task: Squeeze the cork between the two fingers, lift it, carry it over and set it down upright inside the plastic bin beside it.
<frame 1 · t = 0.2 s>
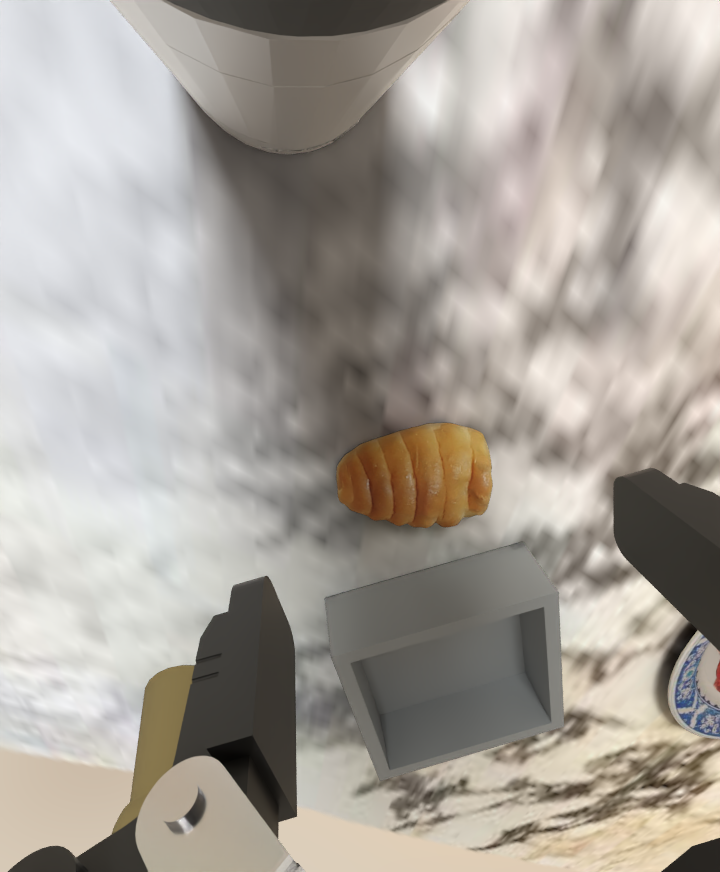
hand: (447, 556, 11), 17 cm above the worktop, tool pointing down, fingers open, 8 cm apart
bin: (439, 637, 38), on the worktop
pastry: (416, 467, 31), on the worktop
cork: (187, 689, 36), on the worktop
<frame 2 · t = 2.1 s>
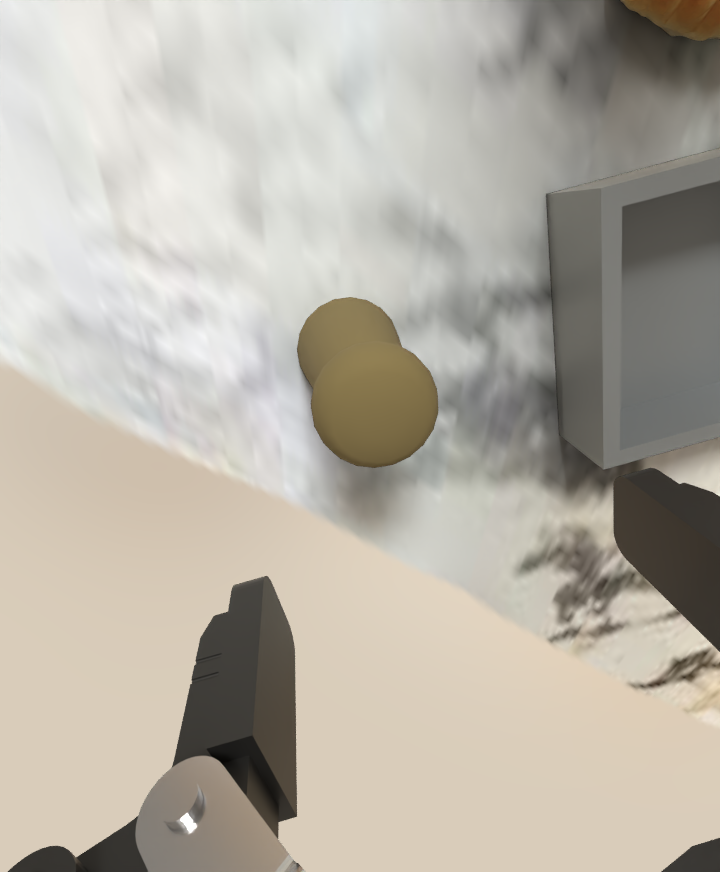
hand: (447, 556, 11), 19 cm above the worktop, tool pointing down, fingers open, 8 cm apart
bin: (669, 296, 29), on the worktop
cork: (348, 349, 28), on the worktop
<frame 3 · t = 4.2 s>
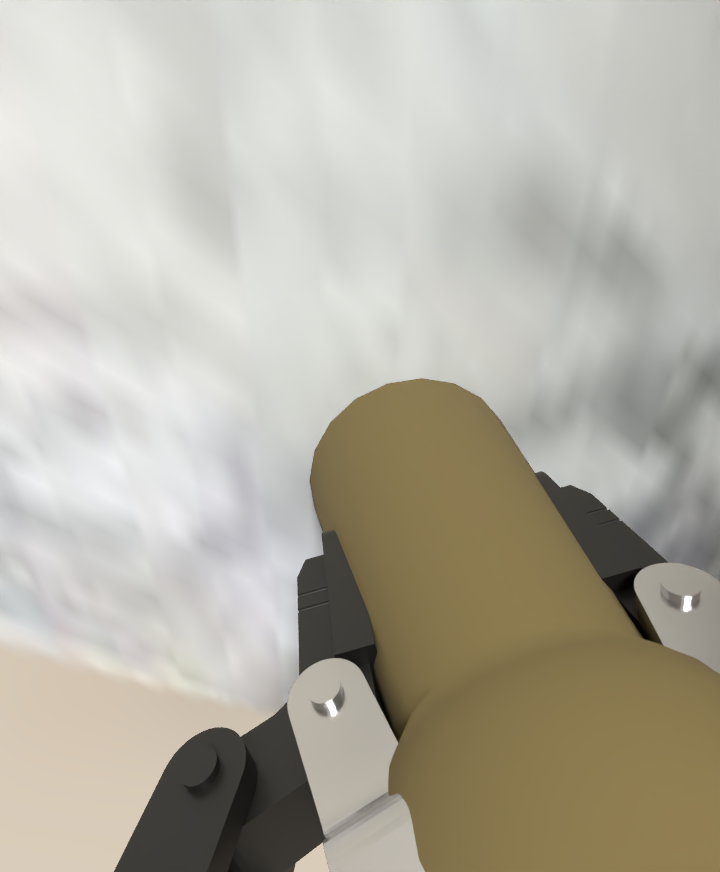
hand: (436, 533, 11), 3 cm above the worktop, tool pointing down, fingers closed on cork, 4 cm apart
cork: (410, 473, 14), on the worktop, touching gripper
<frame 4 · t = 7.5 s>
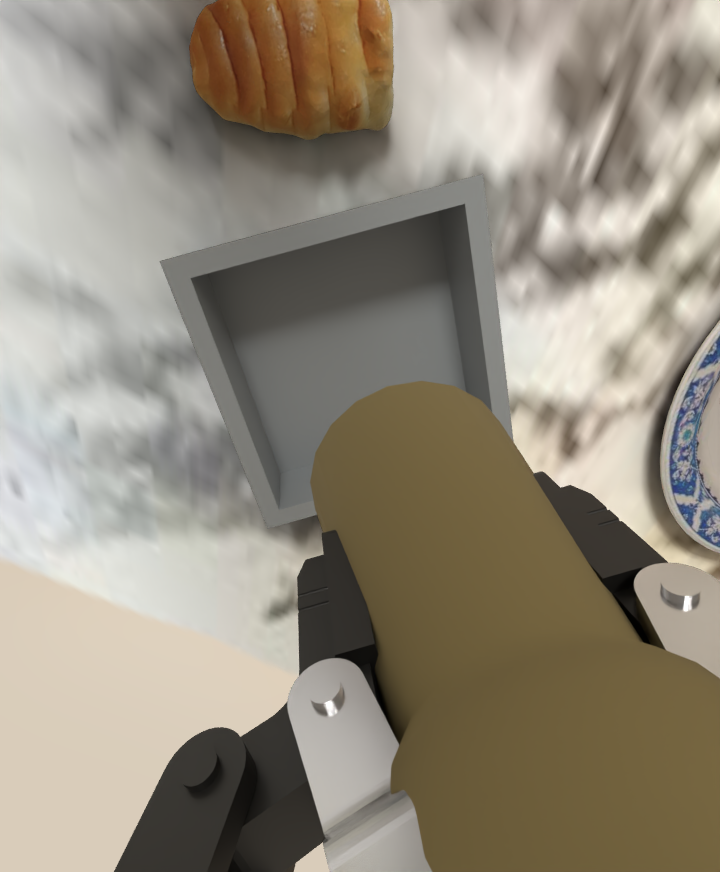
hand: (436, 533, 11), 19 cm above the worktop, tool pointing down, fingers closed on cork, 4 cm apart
bin: (350, 350, 29), on the worktop
pastry: (307, 69, 23), on the worktop
cork: (410, 475, 14), point 16 cm above the worktop, touching gripper
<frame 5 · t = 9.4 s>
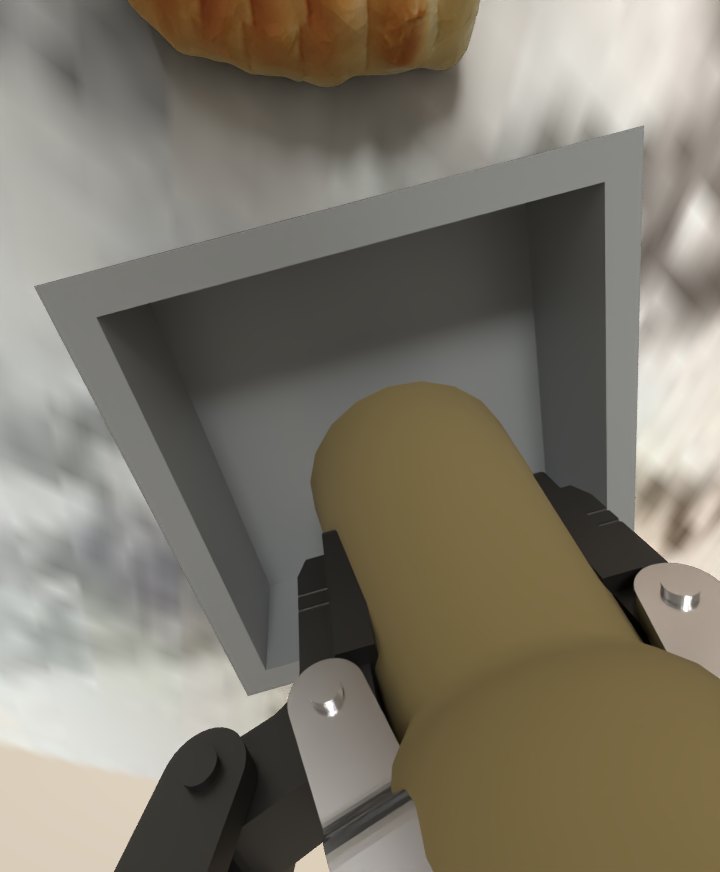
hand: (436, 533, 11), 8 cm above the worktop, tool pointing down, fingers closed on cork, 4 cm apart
bin: (376, 411, 19), on the worktop
cork: (410, 475, 14), point 5 cm above the worktop, touching gripper
when the fingers open (5 cm above the worktop, at t = 11.0 s): cork stays where it is, resting on bin.
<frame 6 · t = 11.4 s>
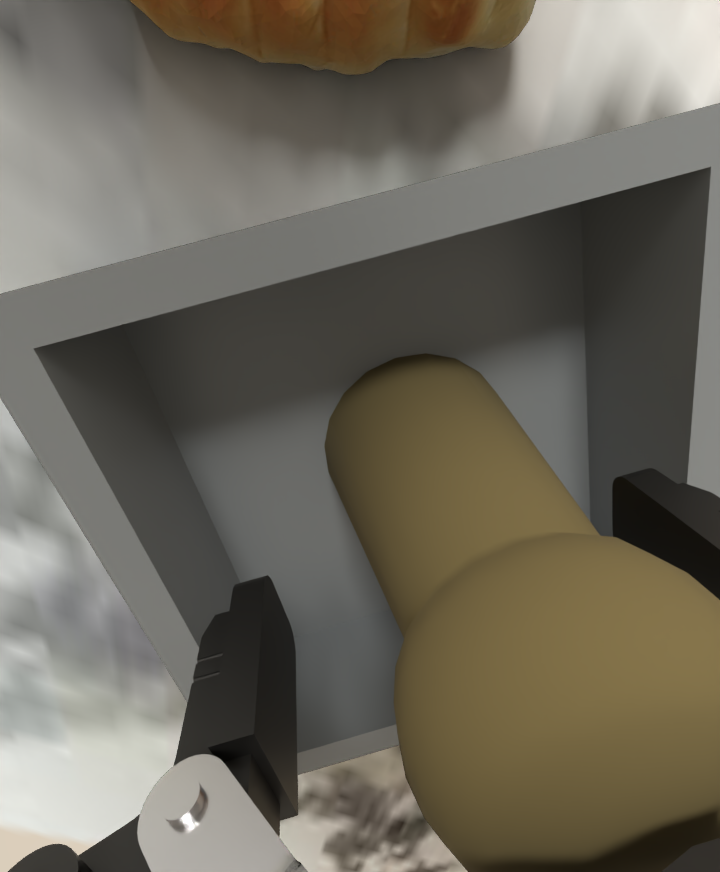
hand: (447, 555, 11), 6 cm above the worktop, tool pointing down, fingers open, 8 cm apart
bin: (394, 445, 16), on the worktop
cork: (415, 441, 16), resting on bin
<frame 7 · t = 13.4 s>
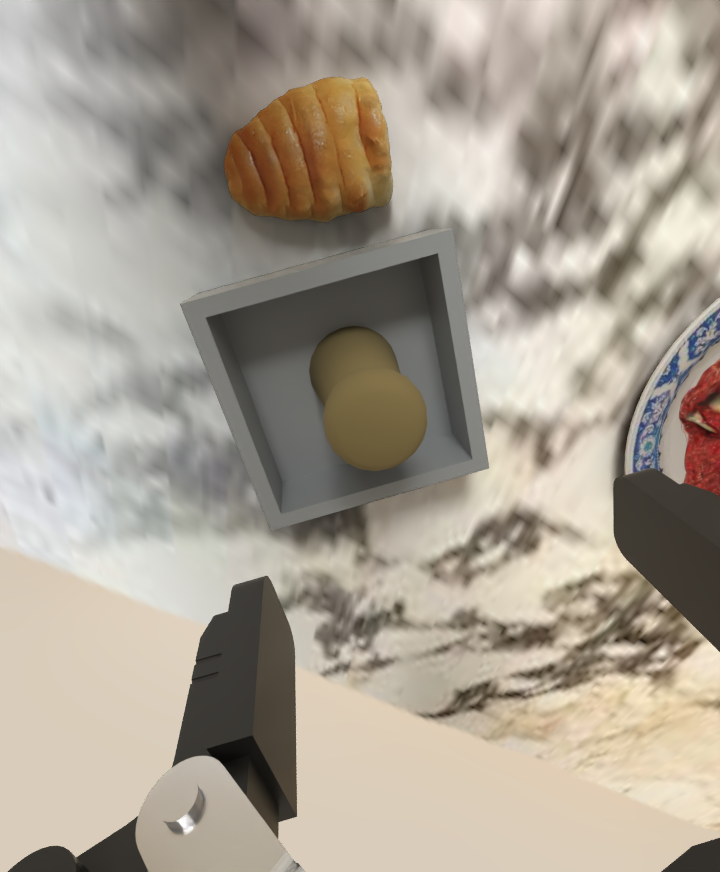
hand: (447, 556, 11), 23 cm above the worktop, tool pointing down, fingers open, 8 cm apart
bin: (344, 373, 33), on the worktop
pastry: (319, 164, 28), on the worktop
cork: (353, 370, 32), resting on bin
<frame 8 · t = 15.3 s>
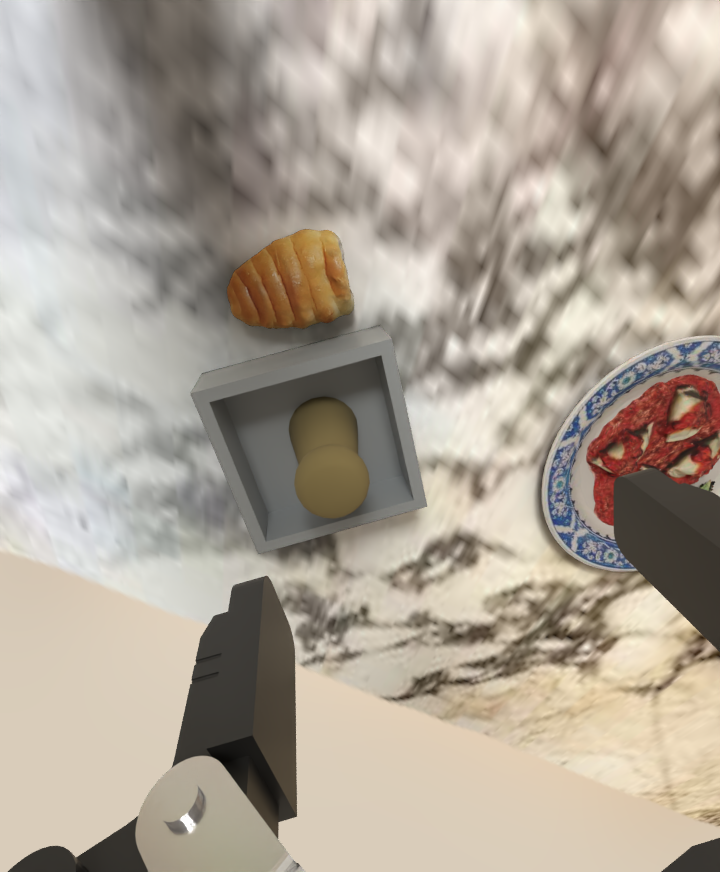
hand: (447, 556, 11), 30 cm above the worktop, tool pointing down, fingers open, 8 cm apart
bin: (316, 430, 42), on the worktop
pastry: (298, 283, 37), on the worktop
cork: (323, 428, 41), resting on bin
ceramic plate: (651, 456, 48), on the worktop
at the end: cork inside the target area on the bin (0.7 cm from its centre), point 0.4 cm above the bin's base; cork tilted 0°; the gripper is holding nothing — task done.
